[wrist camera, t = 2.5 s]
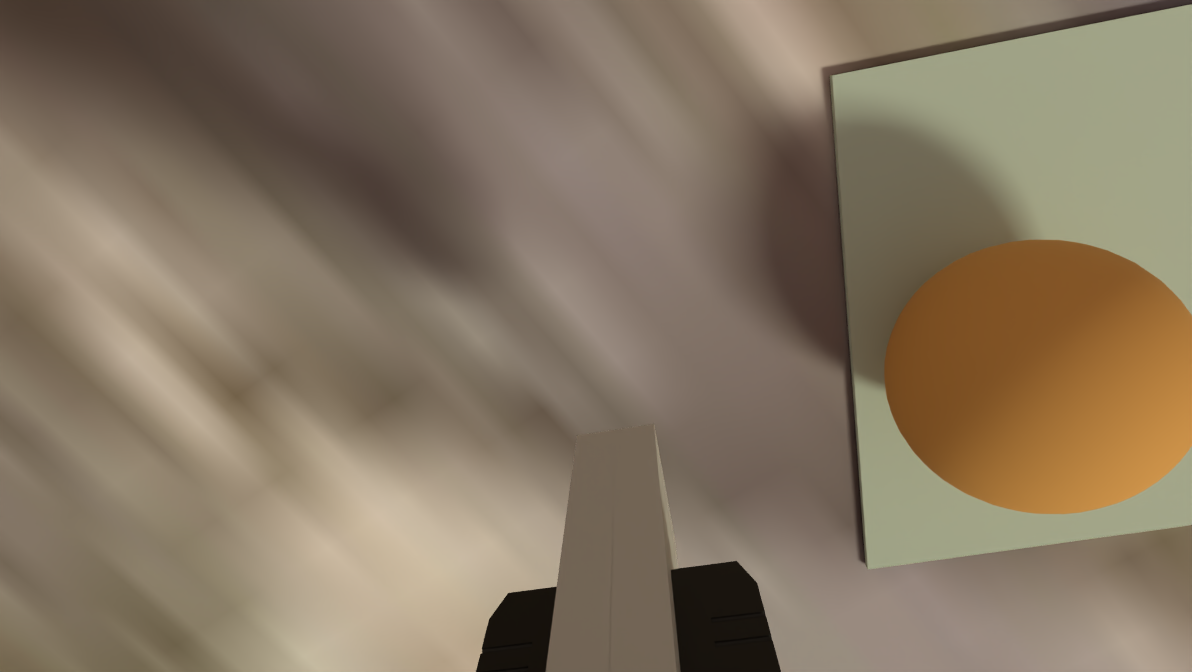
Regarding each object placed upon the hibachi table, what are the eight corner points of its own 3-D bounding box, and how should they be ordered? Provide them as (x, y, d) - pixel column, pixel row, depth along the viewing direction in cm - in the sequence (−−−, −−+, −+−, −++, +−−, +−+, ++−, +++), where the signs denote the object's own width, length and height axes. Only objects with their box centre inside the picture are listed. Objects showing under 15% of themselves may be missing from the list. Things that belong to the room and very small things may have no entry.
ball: (856, 448, 19) (958, 595, 14) (841, 241, 17) (952, 312, 12) (1078, 415, 19) (1279, 551, 13) (1088, 197, 17) (1329, 248, 11)
